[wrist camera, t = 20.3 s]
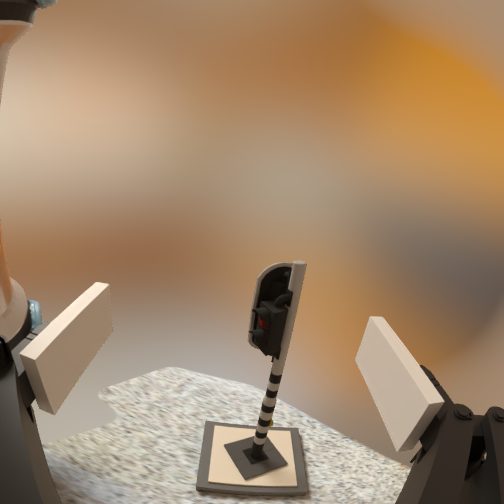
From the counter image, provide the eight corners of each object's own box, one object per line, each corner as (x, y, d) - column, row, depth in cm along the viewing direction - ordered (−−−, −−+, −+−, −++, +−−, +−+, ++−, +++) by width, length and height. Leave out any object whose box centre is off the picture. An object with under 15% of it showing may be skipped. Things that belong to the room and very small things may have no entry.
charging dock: (196, 489, 30) (196, 485, 30) (205, 425, 42) (205, 419, 42) (305, 495, 31) (308, 490, 30) (296, 432, 43) (298, 426, 43)
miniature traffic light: (262, 431, 41) (303, 247, 33) (287, 464, 35) (351, 272, 26) (218, 443, 37) (241, 248, 29) (240, 481, 31) (285, 279, 23)
